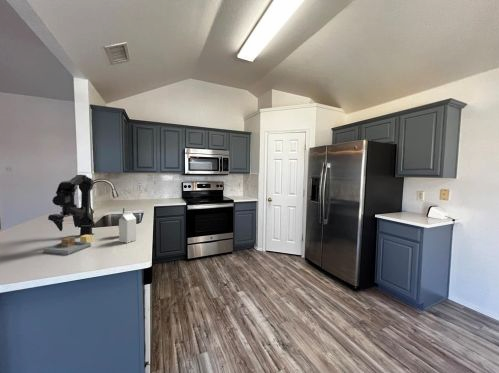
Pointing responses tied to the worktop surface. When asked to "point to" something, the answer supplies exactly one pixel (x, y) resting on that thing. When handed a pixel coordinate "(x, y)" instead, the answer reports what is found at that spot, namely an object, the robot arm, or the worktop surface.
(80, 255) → the worktop surface
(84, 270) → the worktop surface
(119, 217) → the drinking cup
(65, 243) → the walnut block
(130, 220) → the milk carton
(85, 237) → the mustard block
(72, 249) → the tray
